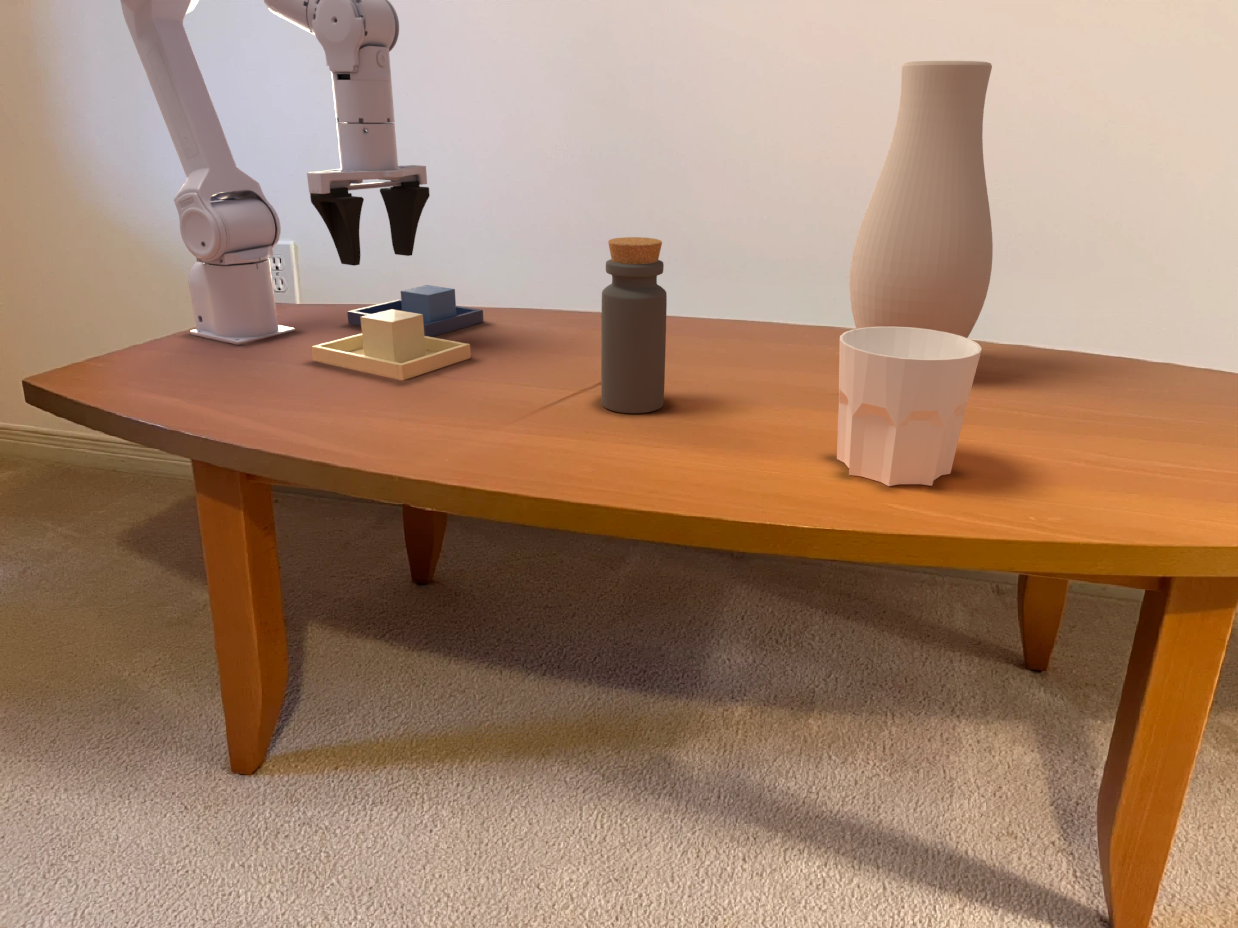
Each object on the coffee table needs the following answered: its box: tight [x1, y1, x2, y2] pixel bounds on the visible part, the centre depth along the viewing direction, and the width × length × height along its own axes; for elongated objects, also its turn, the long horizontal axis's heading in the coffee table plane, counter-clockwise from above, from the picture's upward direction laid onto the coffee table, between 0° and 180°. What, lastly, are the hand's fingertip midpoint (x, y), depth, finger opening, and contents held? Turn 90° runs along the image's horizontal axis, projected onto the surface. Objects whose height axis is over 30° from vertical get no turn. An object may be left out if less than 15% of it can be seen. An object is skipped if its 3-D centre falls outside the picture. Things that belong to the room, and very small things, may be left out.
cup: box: [836, 327, 983, 487], centre depth 68 cm, size 10×10×10 cm
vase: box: [849, 60, 994, 339], centre depth 91 cm, size 14×14×30 cm
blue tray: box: [347, 298, 484, 337], centre depth 112 cm, size 13×10×2 cm
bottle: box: [600, 236, 668, 414], centre depth 81 cm, size 6×6×15 cm
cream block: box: [360, 309, 426, 363], centre depth 96 cm, size 5×5×5 cm
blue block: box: [400, 284, 457, 324], centre depth 109 cm, size 5×5×5 cm
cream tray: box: [311, 332, 471, 381], centre depth 96 cm, size 13×10×2 cm
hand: (377, 259), depth 96 cm, fingers open, 7 cm apart
